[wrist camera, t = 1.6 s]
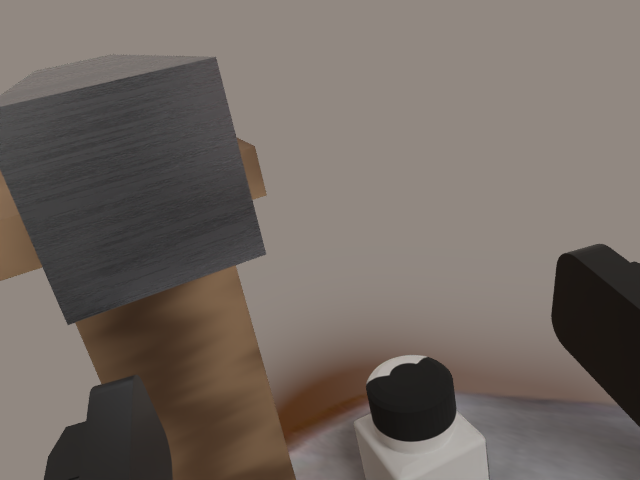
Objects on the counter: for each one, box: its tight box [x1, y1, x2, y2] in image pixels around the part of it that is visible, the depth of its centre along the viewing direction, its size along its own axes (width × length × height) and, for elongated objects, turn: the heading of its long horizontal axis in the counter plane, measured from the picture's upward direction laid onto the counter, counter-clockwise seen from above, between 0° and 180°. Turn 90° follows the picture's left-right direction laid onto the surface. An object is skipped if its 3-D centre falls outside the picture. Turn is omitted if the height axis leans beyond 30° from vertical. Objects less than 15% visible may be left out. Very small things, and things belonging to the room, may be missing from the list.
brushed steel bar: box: [0, 55, 266, 325], centre depth 21 cm, size 4×24×4 cm, turn 24°
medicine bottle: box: [354, 355, 490, 480], centre depth 41 cm, size 7×7×12 cm
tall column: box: [0, 138, 296, 480], centre depth 31 cm, size 12×12×32 cm
